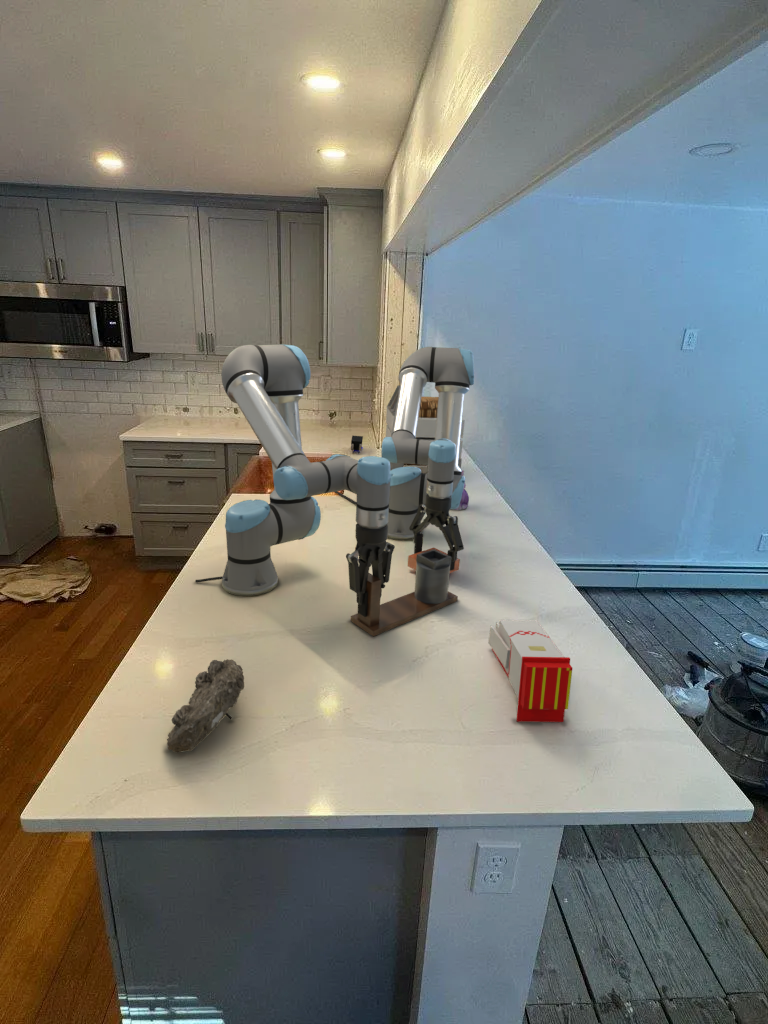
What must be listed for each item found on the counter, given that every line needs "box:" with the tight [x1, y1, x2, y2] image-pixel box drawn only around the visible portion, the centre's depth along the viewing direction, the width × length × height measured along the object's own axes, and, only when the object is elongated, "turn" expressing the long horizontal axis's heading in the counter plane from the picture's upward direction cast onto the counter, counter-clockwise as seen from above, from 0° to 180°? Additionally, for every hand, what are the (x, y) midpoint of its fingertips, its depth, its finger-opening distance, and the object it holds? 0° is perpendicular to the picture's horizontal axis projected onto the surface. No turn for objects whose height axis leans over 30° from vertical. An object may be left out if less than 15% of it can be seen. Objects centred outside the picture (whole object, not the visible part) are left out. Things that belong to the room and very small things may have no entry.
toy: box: [488, 619, 573, 723], centre depth 122 cm, size 12×13×30 cm
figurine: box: [453, 469, 470, 511], centre depth 227 cm, size 9×10×15 cm
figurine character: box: [350, 435, 364, 454], centre depth 309 cm, size 7×8×15 cm
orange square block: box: [407, 547, 461, 574], centre depth 171 cm, size 11×11×5 cm
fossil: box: [166, 658, 245, 754], centre depth 106 cm, size 22×10×15 cm
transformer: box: [385, 384, 465, 471], centre depth 268 cm, size 34×33×41 cm
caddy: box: [350, 549, 459, 637], centre depth 147 cm, size 30×9×14 cm, turn 131°
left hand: (368, 612), depth 140 cm, fingers closed on caddy, 3 cm apart
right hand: (433, 561), depth 170 cm, fingers open, 13 cm apart
